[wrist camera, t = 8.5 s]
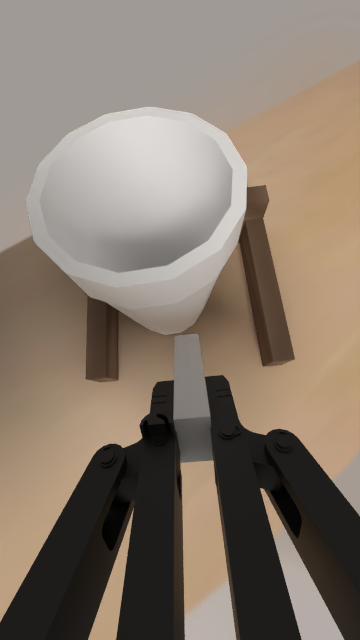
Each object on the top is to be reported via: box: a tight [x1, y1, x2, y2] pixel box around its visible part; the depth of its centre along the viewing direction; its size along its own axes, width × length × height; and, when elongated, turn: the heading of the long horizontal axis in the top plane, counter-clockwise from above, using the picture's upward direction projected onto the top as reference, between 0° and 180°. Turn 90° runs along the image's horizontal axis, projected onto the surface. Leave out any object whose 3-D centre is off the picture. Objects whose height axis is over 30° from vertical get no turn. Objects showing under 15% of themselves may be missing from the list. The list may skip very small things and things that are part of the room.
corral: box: [86, 185, 295, 382], centre depth 21 cm, size 15×14×5 cm
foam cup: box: [26, 107, 247, 335], centre depth 17 cm, size 10×9×13 cm
